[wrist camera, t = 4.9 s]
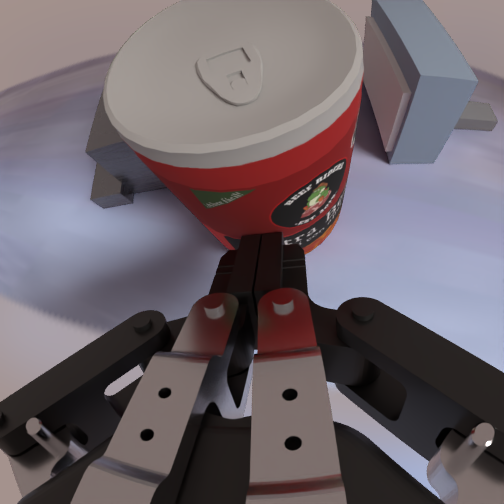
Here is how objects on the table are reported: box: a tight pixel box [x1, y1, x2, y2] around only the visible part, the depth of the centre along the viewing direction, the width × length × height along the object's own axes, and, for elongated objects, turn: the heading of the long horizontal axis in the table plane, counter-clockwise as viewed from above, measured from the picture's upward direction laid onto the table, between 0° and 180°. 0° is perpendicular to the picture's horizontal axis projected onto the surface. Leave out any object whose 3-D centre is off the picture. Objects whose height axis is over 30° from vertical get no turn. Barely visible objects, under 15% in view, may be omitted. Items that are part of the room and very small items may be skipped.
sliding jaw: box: [363, 0, 498, 164], centre depth 14 cm, size 9×7×8 cm
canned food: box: [103, 0, 364, 254], centre depth 12 cm, size 8×8×11 cm
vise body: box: [86, 89, 167, 209], centre depth 18 cm, size 6×8×6 cm
